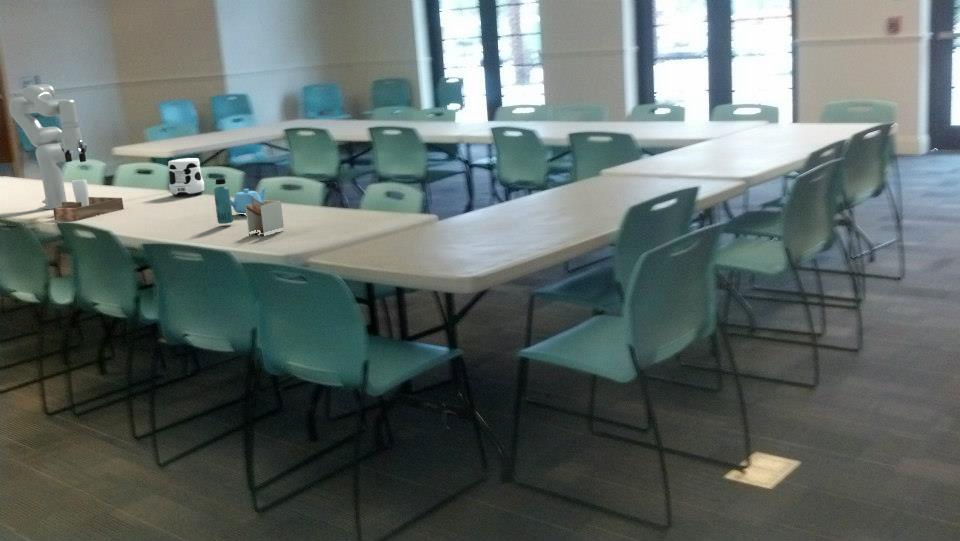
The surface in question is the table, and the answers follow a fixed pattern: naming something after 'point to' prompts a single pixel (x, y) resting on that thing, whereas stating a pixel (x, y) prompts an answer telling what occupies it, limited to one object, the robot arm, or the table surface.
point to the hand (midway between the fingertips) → (76, 161)
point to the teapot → (246, 199)
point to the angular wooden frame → (87, 208)
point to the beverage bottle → (223, 203)
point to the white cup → (81, 191)
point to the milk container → (185, 177)
